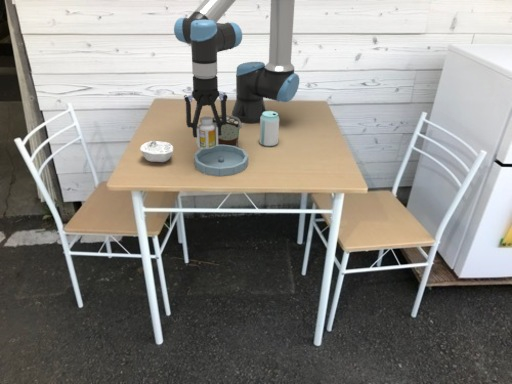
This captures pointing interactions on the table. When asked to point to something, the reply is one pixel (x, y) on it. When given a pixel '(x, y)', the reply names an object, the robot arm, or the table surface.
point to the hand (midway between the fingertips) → (207, 145)
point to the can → (269, 128)
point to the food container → (229, 131)
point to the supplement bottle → (207, 132)
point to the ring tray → (221, 160)
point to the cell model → (157, 151)
